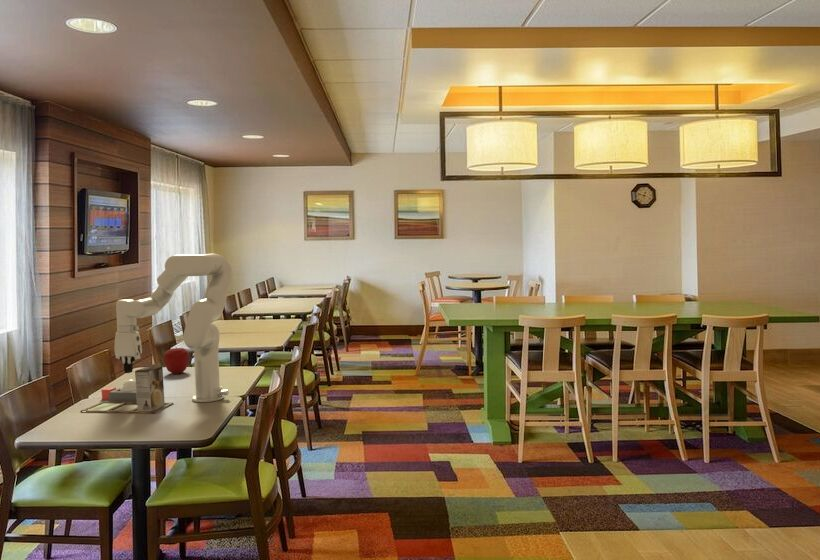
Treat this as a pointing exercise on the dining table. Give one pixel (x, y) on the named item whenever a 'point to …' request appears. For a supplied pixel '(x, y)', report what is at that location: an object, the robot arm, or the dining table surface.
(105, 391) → the red die
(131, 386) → the dome
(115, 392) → the dome housing
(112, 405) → the frame
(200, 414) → the dining table surface
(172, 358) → the apple
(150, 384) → the coffee box
